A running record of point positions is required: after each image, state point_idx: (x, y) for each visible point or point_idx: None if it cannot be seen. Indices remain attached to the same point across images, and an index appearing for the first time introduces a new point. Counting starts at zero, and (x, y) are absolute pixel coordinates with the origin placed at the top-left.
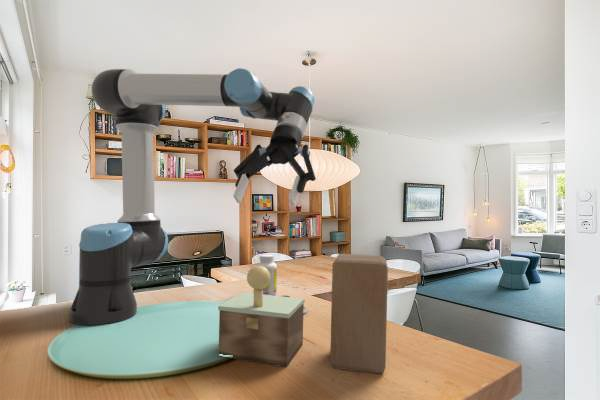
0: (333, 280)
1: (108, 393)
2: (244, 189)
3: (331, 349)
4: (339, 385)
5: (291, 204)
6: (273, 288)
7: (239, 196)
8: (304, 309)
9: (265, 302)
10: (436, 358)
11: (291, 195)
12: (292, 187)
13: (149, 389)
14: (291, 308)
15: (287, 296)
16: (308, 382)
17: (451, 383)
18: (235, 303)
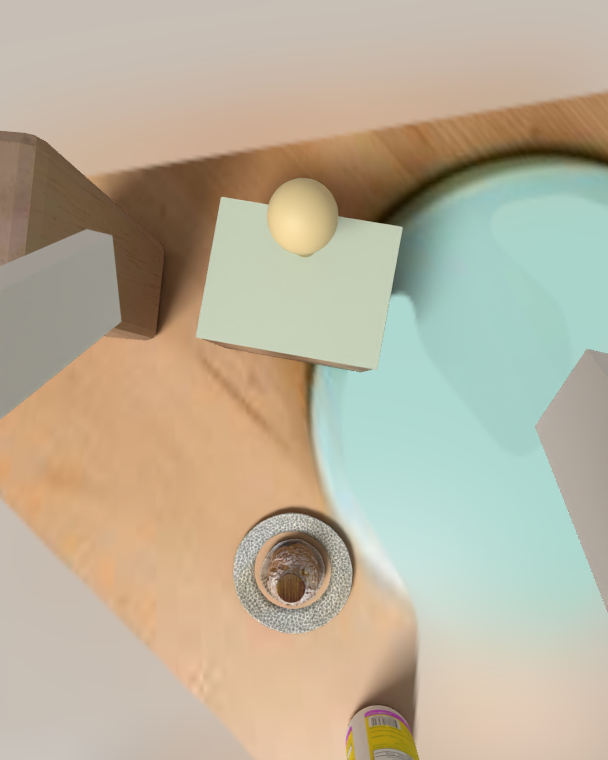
0: (73, 166)
1: (504, 111)
2: (589, 513)
3: (152, 237)
4: (152, 193)
5: (116, 301)
6: (353, 736)
7: (569, 411)
8: (240, 581)
9: (292, 280)
10: None
11: (77, 243)
12: (27, 276)
13: (448, 132)
14: (220, 241)
15: (285, 594)
16: (202, 194)
17: None
18: (366, 256)
